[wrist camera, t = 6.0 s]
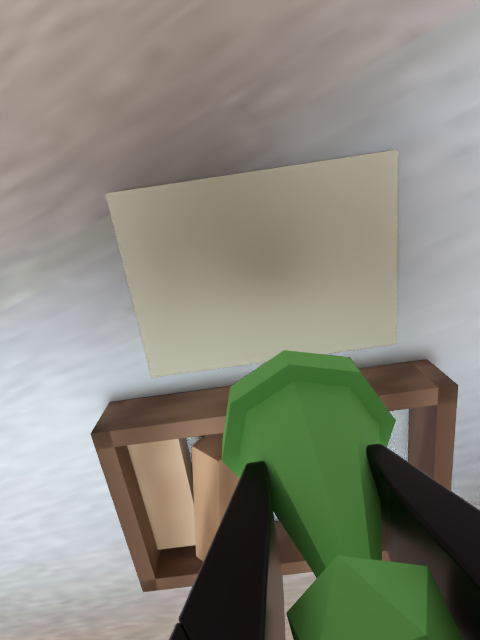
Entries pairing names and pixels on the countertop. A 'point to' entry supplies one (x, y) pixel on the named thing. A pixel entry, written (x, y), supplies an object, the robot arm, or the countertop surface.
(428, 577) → the game piece
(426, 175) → the countertop surface
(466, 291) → the countertop surface
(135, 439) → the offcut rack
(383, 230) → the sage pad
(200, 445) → the offcut top
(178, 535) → the block
